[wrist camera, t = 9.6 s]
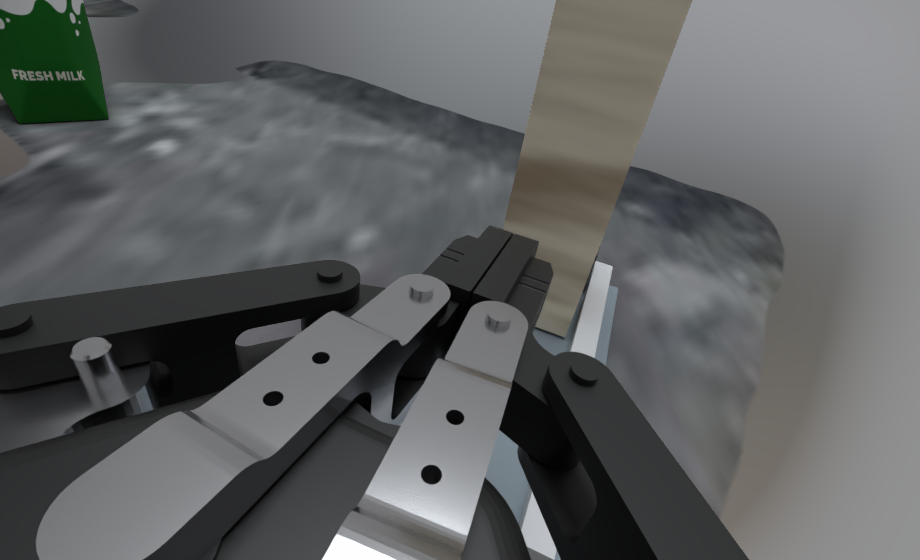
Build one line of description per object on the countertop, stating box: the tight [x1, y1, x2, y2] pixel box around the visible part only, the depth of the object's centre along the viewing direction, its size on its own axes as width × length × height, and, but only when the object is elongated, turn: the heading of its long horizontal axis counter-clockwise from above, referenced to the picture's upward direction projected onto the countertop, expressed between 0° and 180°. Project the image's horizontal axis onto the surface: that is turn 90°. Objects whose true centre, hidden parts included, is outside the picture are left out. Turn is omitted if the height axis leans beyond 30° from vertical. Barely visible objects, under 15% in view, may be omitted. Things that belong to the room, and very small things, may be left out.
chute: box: [400, 247, 618, 560], centre depth 23 cm, size 21×10×4 cm, turn 158°
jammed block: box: [503, 0, 692, 337], centre depth 22 cm, size 5×5×20 cm
